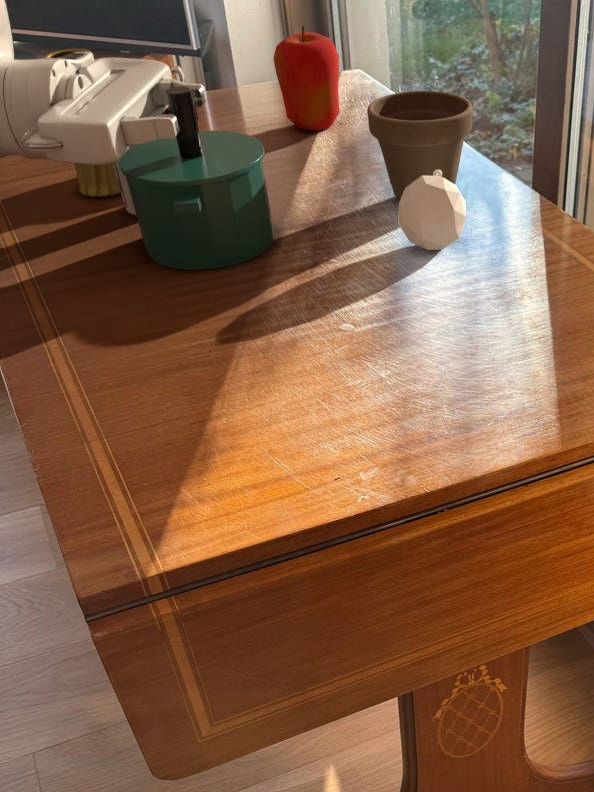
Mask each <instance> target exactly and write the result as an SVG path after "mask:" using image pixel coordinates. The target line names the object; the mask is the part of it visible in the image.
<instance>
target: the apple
mask: <svg viewBox="0 0 594 792" xmlns="http://www.w3.org/2000/svg"><path fill="white" fill-rule="evenodd" d="M273 64H274V70H275V74H276V78H277V81H278V84H279V88H280V92H281V96H282V100H283V104H284V108H285V114H286V118H287V119H288V120H289V121H290V122H291V123H293V124H294V125H295V126H296V127H298V128H300V129H303V130H305V131H314V132H315V131H323V130H326V129H329V128H331V127H332V126H333V125H334V123H335V121H336V120H337V118H338V116H339V114H340V113H341V111H340V97H339V82H340V81H339V79H340V77H339V76H340V55H339V54H338V50H337V49H336V46H335V44H334V42H333V41H332V39H330V38H329V37H327V36H324V35H323V34H320V33H318V32H313V31H305V26H304V25H303V24H301V32H299V33H295V34H293V35H289V36H288V37H286V38H284V39H283V40H281V41H280V42H279V43H277V45H276V47H275V50H274V54H273Z"/></svg>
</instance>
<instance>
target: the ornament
mask: <svg viewBox="0 0 594 792" xmlns="http://www.w3.org/2000/svg"><path fill="white" fill-rule="evenodd" d="M441 176H442V172H441V171H440V170H435V171H434V173H433V176H423V175H422V176H421V177H419V178H418V179H417V180H415V181H414V182H413V183H411V184H410V185H409V186H407V187H406V188H405V190H404V192H403V195H402V197H401V199H400V202H398V225H399V227H400V229H401V231H402V232H403V234H404V235H405V236H406V238H407V240H408V241H409V242H410V243H412V244H414V245H416V246H418V247H419V248H422V249H424V250H426V251H441V250H442V251H443V250H444V249H446V248H447V247H449V246H450V245H452V244H453V243H454V242H456V241H457V240H459V239H460V238H461V235H462V232H463V230H464V226H465V224H466V220H467V219H466V218H467V202H466V199H465V198H464V196H463V194H462V193H461V191H460V190H459V188H458V187H457V185H456V183H455V184H453V183H451V182H450V181H448V180H447V179H445V178H443V177H441Z"/></svg>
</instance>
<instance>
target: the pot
mask: <svg viewBox="0 0 594 792" xmlns="http://www.w3.org/2000/svg"><path fill="white" fill-rule="evenodd" d="M126 179H127V182H128V186H129V190H130V193H131V197H132V201H133V204H134V208H135V212H136V215H135V216H136V219H137V223H138V226H139V227H138V228H139V230H140V233H141V237H142V242H143V245H144V248H145V249H146V252H147V254H148V257H150V259H151V260H152V261H153V262H155V263H157V264H159V265H161V266H163V267H164V266H165V267H167V268H172V269H177V270H184V271H185V270H186V271H203V270H206V271H207V270H214V269H222V268H226V267H231V266H234V265H239V264H241V263H244V262H247V261H250V260H253V259H254V258H257V257H258V256H260V255H262V254H263V253H264V252H266V251H267V250H268V249H270V247H271V246H272V244H273V242H274V239H275V233H274V221H273V217H272V216H273V215H272V212H271V211H272V209H271V205H270V198H269V193H268V188H267V183H266V177H265V171H264V164H263V160H262V161H261V162H260V163H259V164H258V165H257V166H256V167H255V168H253V169H251V170H250V171H248V172H246V173H243V174H241V175H239V176H236V177H233V178H230V179H227V180H223V181H219V182H215V183H209V184H203V185H196V186H183V187H164V186H153V185H147V184H142V183H138V182H135V181H133V180H130V179H129V178H127V177H126Z"/></svg>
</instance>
